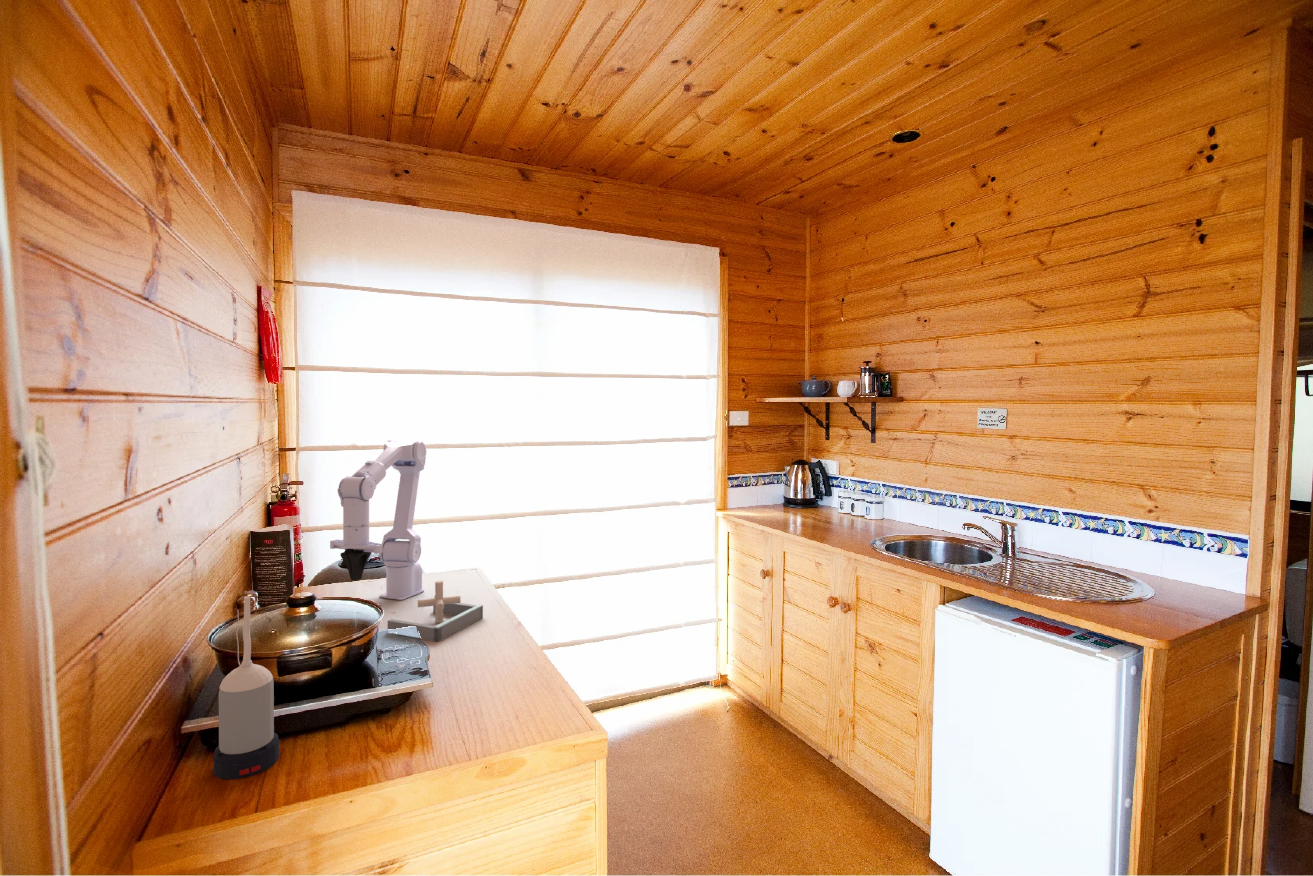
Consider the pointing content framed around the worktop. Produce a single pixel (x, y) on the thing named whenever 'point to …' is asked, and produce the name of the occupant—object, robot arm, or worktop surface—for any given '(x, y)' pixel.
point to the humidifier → (246, 716)
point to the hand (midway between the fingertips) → (356, 579)
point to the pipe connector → (439, 601)
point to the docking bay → (463, 618)
